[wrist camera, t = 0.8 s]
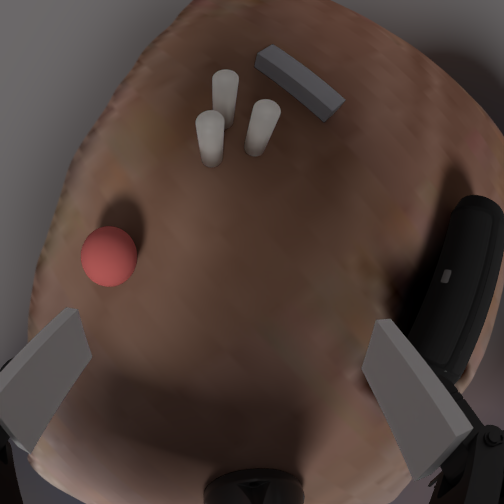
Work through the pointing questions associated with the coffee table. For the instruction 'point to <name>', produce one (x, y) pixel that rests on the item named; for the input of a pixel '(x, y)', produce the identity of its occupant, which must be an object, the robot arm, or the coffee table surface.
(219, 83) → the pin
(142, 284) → the coffee table surface
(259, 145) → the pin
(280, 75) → the back wall
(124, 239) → the ball
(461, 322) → the portable speaker
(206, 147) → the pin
